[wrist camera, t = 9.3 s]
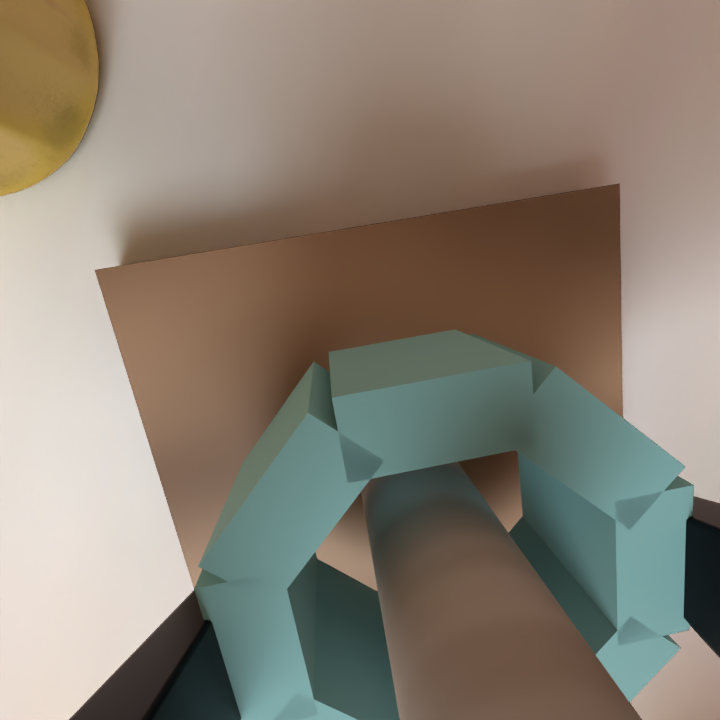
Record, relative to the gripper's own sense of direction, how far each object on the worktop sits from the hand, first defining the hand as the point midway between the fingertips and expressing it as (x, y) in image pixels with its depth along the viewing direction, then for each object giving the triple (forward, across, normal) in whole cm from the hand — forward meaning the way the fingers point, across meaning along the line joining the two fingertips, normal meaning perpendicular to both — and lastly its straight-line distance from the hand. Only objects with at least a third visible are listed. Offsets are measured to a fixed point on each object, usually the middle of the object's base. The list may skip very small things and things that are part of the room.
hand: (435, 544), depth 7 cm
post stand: (+4, 0, 0) cm, 4 cm away
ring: (+2, 0, 0) cm, 2 cm away
